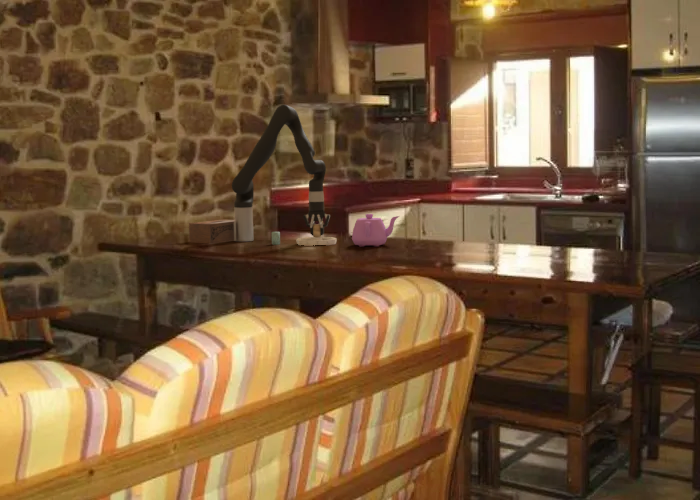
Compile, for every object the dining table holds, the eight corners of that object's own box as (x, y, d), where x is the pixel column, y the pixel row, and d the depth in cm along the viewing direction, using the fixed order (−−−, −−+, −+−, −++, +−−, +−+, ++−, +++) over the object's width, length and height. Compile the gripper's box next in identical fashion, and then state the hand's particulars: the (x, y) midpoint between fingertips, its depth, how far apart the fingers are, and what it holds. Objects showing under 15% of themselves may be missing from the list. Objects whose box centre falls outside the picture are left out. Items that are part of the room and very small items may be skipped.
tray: (293, 245, 451) (292, 240, 451) (302, 241, 470) (302, 236, 470) (331, 245, 448) (331, 240, 447) (339, 241, 466) (339, 236, 466)
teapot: (349, 248, 436) (349, 216, 435) (354, 243, 457) (353, 212, 455) (398, 248, 434) (398, 215, 432) (400, 243, 455) (400, 212, 453)
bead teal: (271, 244, 459) (270, 232, 458) (273, 243, 463) (272, 231, 462) (278, 244, 458) (278, 232, 458) (281, 243, 462) (280, 231, 461)
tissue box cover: (210, 244, 470) (209, 224, 469) (189, 242, 479) (188, 223, 478) (244, 239, 491) (244, 220, 490) (224, 238, 499) (223, 219, 498)
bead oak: (314, 236, 466) (313, 224, 465) (322, 236, 465) (321, 224, 465) (312, 237, 462) (312, 225, 461) (320, 237, 461) (320, 225, 461)
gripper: (332, 200, 464) (332, 234, 466) (304, 200, 467) (305, 234, 469) (328, 200, 457) (329, 236, 459) (300, 201, 459) (301, 236, 461)
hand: (317, 235), depth 464 cm, fingers closed on bead oak, 4 cm apart
